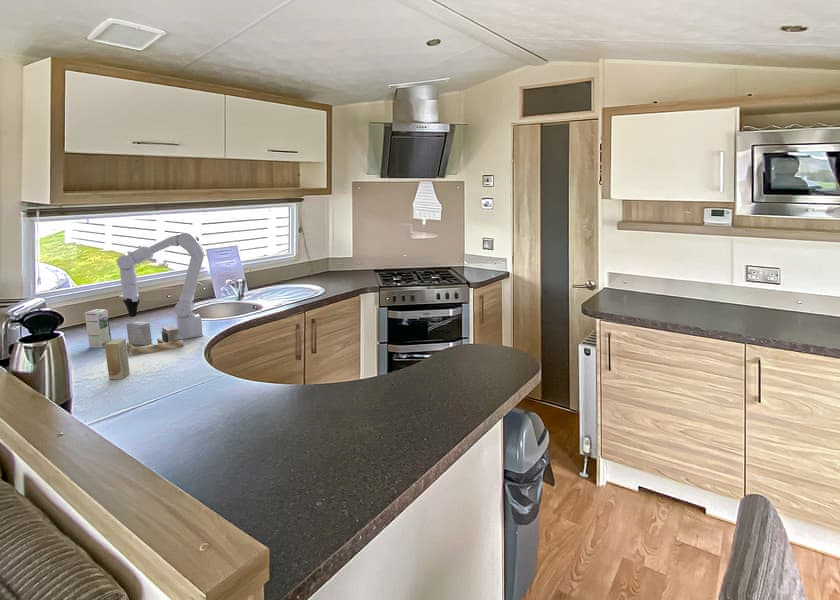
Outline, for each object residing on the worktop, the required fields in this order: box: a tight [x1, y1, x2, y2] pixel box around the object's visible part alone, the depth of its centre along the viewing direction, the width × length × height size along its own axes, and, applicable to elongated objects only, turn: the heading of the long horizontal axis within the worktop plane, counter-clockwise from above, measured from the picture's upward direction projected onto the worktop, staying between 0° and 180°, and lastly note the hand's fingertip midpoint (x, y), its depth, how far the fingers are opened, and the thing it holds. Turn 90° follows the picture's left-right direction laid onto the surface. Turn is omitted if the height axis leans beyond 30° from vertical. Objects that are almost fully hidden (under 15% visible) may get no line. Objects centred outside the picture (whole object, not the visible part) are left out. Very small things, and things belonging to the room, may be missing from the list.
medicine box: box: [126, 321, 153, 346], centre depth 226 cm, size 8×4×9 cm, turn 71°
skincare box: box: [104, 338, 131, 380], centre depth 184 cm, size 6×4×12 cm
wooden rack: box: [126, 325, 185, 356], centre depth 219 cm, size 19×10×7 cm, turn 129°
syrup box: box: [84, 308, 112, 349], centre depth 223 cm, size 6×6×14 cm
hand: (132, 316), depth 231 cm, fingers closed
